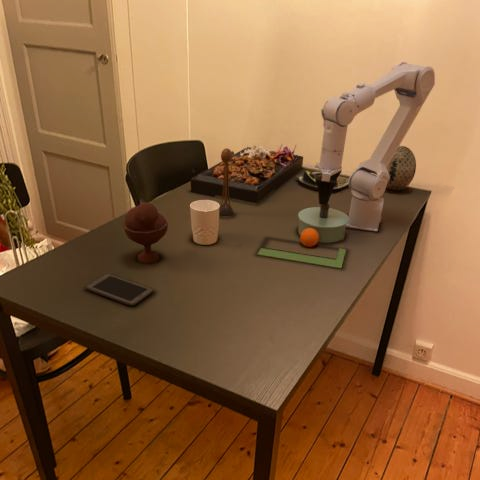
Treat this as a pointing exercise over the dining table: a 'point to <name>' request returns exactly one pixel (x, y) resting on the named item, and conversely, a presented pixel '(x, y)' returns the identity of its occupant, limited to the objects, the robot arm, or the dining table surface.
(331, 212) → the lid
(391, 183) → the decorative egg
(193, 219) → the white cup
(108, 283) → the cell phone
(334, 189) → the salad plate
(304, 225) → the pot
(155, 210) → the ice cream bowl
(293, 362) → the dining table surface
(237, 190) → the food platter
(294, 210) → the dining table surface
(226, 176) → the wooden tabletop sculpture
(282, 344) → the dining table surface
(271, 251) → the green flat l-shaped piece
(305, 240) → the orange
